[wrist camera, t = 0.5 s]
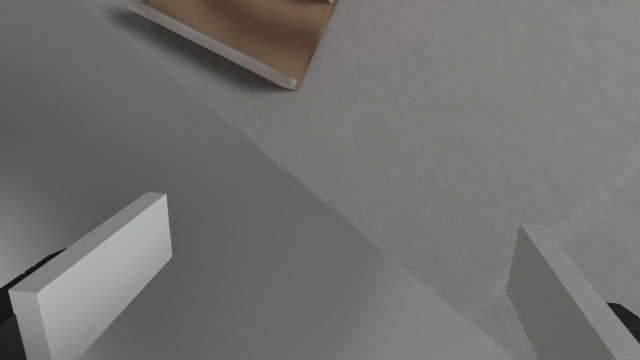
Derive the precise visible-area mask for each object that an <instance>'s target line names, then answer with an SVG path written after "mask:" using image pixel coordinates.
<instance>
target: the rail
mask: <svg viewBox="0 0 640 360" xmlns="http://www.w3.org/2000/svg"><path fill="white" fill-rule="evenodd" d="M337 1H338V0H149V1H148V4H147V5H146V4H143V3H141V2H139V1H136V0H130V1H129V4H128V7H127V8H128V9H130V10H132V11H134V12H136V13H138V14H140V15H142V16H144V17H146V18H148V19H150V20H152V21H154V22H156V23H158V24H160V25H162V26H164V27H166V28H168V29H169V30H171V31H173V32H175V33H177V34H179V35H181V36H183V37H185V38H187V39H189V40H191V41H193V42H195V43H197V44H199V45H201V46H203V47H205V48H207V49H209V50H211V51H213V52H215V53H217V54H219V55H221V56H223V57H225V58H227V59H229V60H231V61H233V62H235V63H237V64H238V65H240V66H242V67H244V68H246V69H248V70H250V71H252V72H254V73H256V74H258V75H260V76H262V77H264V78H266V79H268V80H270V81H272V82H274V83H276V84H278V85H280V86H282V87H284V88H287V89H291V90H295V91H297V90H298V87H299V85H300V83H301V81H302V79H303V76H304V74H305V72H306V70H307V68H308V65H309V63H310V61H311V59H312V56H313V54H314V52H315V50H316V48H317V45H318V43H319V41H320V39H321V37H322V34H323V32H324V30H325V28H326V25H327V23H328V21H329V19H330V17H331V14H332V12H333V10H334V8H335V6H336V3H337Z"/></svg>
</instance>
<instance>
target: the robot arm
mask: <svg viewBox="0 0 640 360" xmlns="http://www.w3.org/2000/svg"><path fill="white" fill-rule="evenodd" d="M171 257H172V251H171V242H170V230H169V220H168V209H167V199H166V194H162V193H150V192H147V193H146V194H144V195H143V196H141V197H140V198H138V199H137V200H136V201H134V202H133V203H132V204H130V205H129V206H127V207H126V208H125V209H123V210H121V211H120V212H119V213H117V214H116V215H114V216H113V217H111V218H110V219H109V220H107V221H106V222H104V223H103V224H102V225H100V226H99V227H97V228H96V229H95V230H93V231H92V232H90V233H89V234H87V235H86V236H84V237H83V238H82V239H80V240H79V241H77V242H76V243H74V244H73V245H72V246H70V247H69V248H65V249H63V250H61V251H58V252H56V253H53V254H51V255H49V256H47V257H46V258H44V259H43V260H42V261H40V262H38V263H37V264H36V265H35V266H33V267H31V268H30V269H28V270H27V271H25V273H24V274H21V275H20V276H18V277H16V278H15V279H14V280H12V281H11V282H9V283H8V284H6V285H5V286H3V287H2V288H0V360H78V359H79V357H80V356H81V355H82V354H83V353H84V352H85V351H86V350H87V349H88V348H89V347H90V346H91V344H92V343H93V342H94V341H95V340H96V339H97V338H98V337H99V336H100V335H101V333H102V332H103V331H104V330H105V329H106V328H107V327H108V326H109V325H110V324H111V323H112V321H113V320H114V319H115V318H116V317H117V316H118V315H119V314H120V313H121V312H122V311H123V309H124V308H125V307H126V306H127V305H128V304H129V303H130V302H131V301H132V300H133V299H134V298H135V296H136V295H137V294H138V293H139V292H140V291H141V290H142V289H143V288H144V287H145V285H146V284H147V283H148V282H149V281H150V280H151V279H152V278H153V277H154V276H155V275H156V273H157V272H158V271H159V270H160V269H161V268H162V267H163V266H164V265H165V264H166V262H167V261H168V260H169V259H170V258H171ZM506 292H507V294H508V296H509V298H510V300H511V302H512V304H513V306H514V309H515V311H516V313H517V315H518V317H519V319H520V321H521V323H522V325H523V328H524V330H525V332H526V334H527V336H528V338H529V340H530V342H531V344H532V347H533V349H534V351H535V353H536V355H537V357H538V359H539V360H640V318H639V317H638V316H636V315H635V314H633V313H632V312H630V311H629V310H628V309H626V308H625V307H623V306H622V305H620V304H615V303H606V302H605V301H604V300H603V299H602V297H601V296H600V295H599V294H598V292H597V291H596V290H595V289H594V288H593V286H592V285H591V284H590V283H589V281H588V280H587V279H586V278H585V277H584V275H583V274H582V273H581V272H580V270H579V269H578V268H577V267H576V265H575V264H574V263H573V262H572V261H571V259H570V258H569V257H568V256H567V254H566V253H565V252H564V251H563V250H562V248H561V247H560V246H559V245H558V243H557V242H556V241H555V240H554V238H553V237H552V236H551V235H550V234H549V232H548V231H547V230H546V229H545V227H544V226H539V225H527V224H520V228H519V232H518V237H517V242H516V246H515V251H514V256H513V261H512V265H511V270H510V275H509V279H508V284H507V289H506Z"/></svg>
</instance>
